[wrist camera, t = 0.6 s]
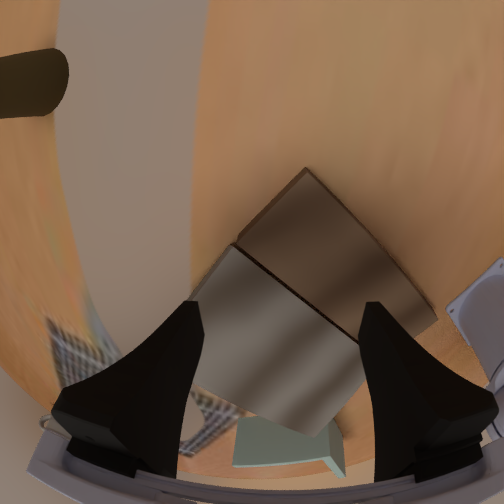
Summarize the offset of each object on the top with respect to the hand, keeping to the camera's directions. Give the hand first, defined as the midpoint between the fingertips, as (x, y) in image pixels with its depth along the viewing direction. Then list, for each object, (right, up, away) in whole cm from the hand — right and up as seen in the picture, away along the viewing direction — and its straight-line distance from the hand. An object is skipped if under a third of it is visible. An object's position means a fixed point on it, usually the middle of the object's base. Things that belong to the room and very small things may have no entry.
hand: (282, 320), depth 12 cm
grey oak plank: (+1, -6, +11) cm, 13 cm away
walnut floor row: (+7, +1, +10) cm, 12 cm away
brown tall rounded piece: (-18, +17, +4) cm, 25 cm away
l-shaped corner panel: (+5, -22, +23) cm, 33 cm away
